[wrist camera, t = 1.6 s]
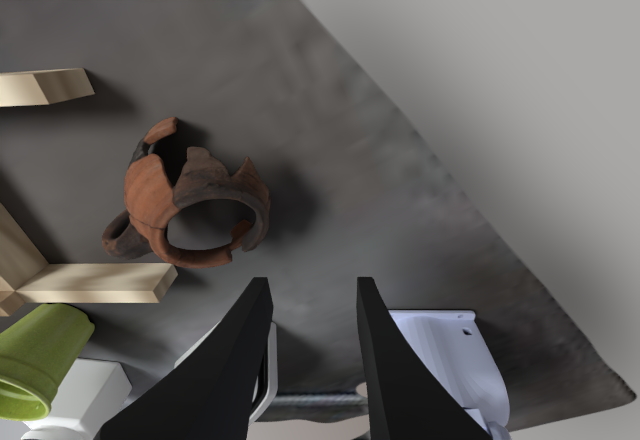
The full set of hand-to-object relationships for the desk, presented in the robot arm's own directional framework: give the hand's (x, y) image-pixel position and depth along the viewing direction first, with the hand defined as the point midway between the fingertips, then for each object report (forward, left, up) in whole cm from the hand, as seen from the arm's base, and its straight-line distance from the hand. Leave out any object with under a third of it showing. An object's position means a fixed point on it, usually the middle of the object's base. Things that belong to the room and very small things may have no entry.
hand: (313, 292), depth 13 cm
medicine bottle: (+33, +28, -11) cm, 44 cm away
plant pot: (+31, +16, -11) cm, 36 cm away
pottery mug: (+10, -1, -11) cm, 14 cm away
